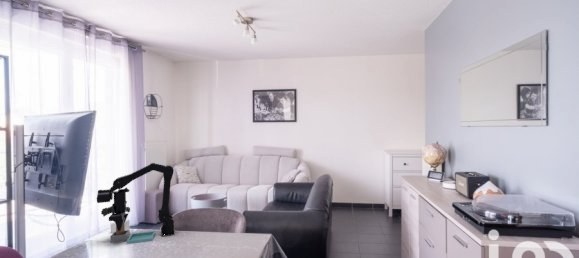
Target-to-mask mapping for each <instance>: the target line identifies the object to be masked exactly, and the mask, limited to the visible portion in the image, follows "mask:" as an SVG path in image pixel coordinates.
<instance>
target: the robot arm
mask: <svg viewBox="0 0 579 258" xmlns="http://www.w3.org/2000/svg"><path fill="white" fill-rule="evenodd" d="M152 171H156V172H159V173H161V174H162V175H163V176H162V177H163V187H162V190H163V191H162V200H161V201H162V202H161V207H158V211H157V212H158V213H157V218H158V220H159V222H161V223H162V224H161V226H160V230H161V232H160V234H161V237H164V236H163V235H164V234H165V235H167V236H172V235H171V234H174V235H175V233H174V232H176V230H175V219H174V217H173V216H172V215H171V214H170V194H171V182H172V179H173V175H174V172H175V169H174V168H173V166H172V165H171V164H167V165H165V164H159V163H155V162H150V164H148V165H146V166H144V167H142V168H140V169H137V170H135V171H134V172H132V173H129V174H126V175H123V176H120V177H117V178H116V179H115V180H113V182H112V186H111V187H110V188H109V189H98V190H97V197H96V204H103V203H111V201H112V200H113V203H112V204H111V206H109V207H105V208H102V209H101V211H100V212H101V213H100V214H101V215H102V216H103V217H105V216H108V215H109V217H108V222H115V223H116V226H117V229H118V231H120V230H121V228H122V225H123V222H124V223H125V221H126V219H128V216H129V213H130V212H131V207H129V206H127V203H128V201H127V194H126V193H129V192H130V189H128V187H127V185H129V184H130V183H131V182H132V181H134V180H136V179H138V178H140V177H143V176H144V175H146V174H149V173H151V172H152ZM126 212H127V213H126Z"/></svg>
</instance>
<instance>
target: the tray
mask: <svg viewBox="0 0 579 258" xmlns="http://www.w3.org/2000/svg"><path fill="white" fill-rule="evenodd" d="M155 235H156V231H145V232H137V233H136V232H135V233H130V237H129V238H128V240H127V241H126V245H131V244H139V243H147V242H148V243H149V242H153V240H154V239H155V238H154V237H155Z"/></svg>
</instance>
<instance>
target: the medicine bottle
mask: <svg viewBox="0 0 579 258" xmlns="http://www.w3.org/2000/svg"><path fill="white" fill-rule="evenodd" d="M124 225H125V231H126V230H130V219H128V218H126V221H125V223H124ZM114 232H116V223H115V222H114V221H110V234H113V233H114Z"/></svg>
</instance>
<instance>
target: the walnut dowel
mask: <svg viewBox="0 0 579 258" xmlns="http://www.w3.org/2000/svg"><path fill="white" fill-rule="evenodd" d="M122 234H125V225H124V222H123V225H122V228H121V230H120V231H118V229H117V226H116V235H122Z"/></svg>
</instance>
